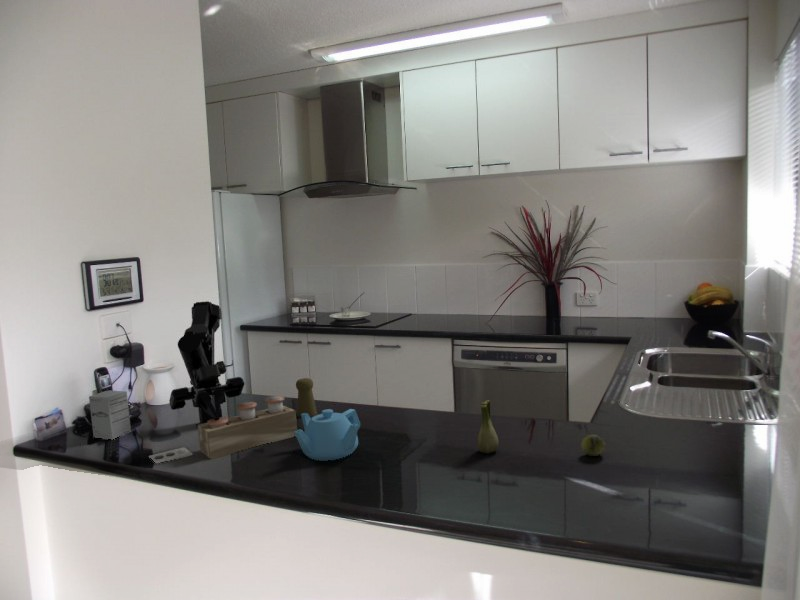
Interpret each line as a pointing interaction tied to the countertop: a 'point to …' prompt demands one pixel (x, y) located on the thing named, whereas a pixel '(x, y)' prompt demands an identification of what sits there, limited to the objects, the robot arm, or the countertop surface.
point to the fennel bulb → (487, 431)
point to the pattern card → (170, 455)
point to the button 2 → (275, 404)
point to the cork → (305, 397)
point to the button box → (247, 432)
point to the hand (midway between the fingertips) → (217, 419)
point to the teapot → (329, 435)
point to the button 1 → (217, 422)
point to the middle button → (247, 410)
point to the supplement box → (110, 414)
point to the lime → (593, 445)
